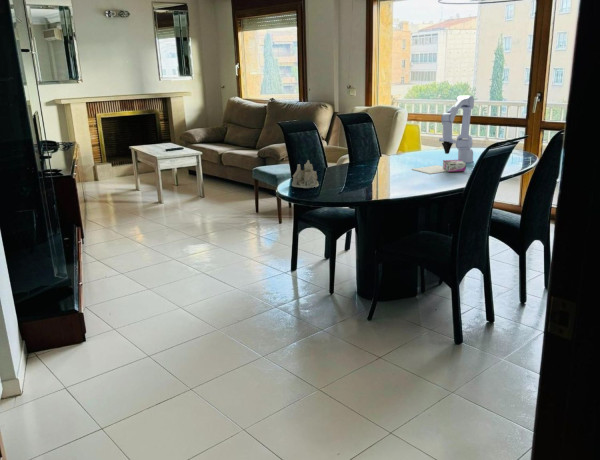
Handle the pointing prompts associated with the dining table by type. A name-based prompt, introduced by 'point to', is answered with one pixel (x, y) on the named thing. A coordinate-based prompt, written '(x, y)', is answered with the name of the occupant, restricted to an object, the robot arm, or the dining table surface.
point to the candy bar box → (454, 165)
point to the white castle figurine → (305, 177)
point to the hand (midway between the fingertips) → (447, 153)
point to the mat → (431, 169)
